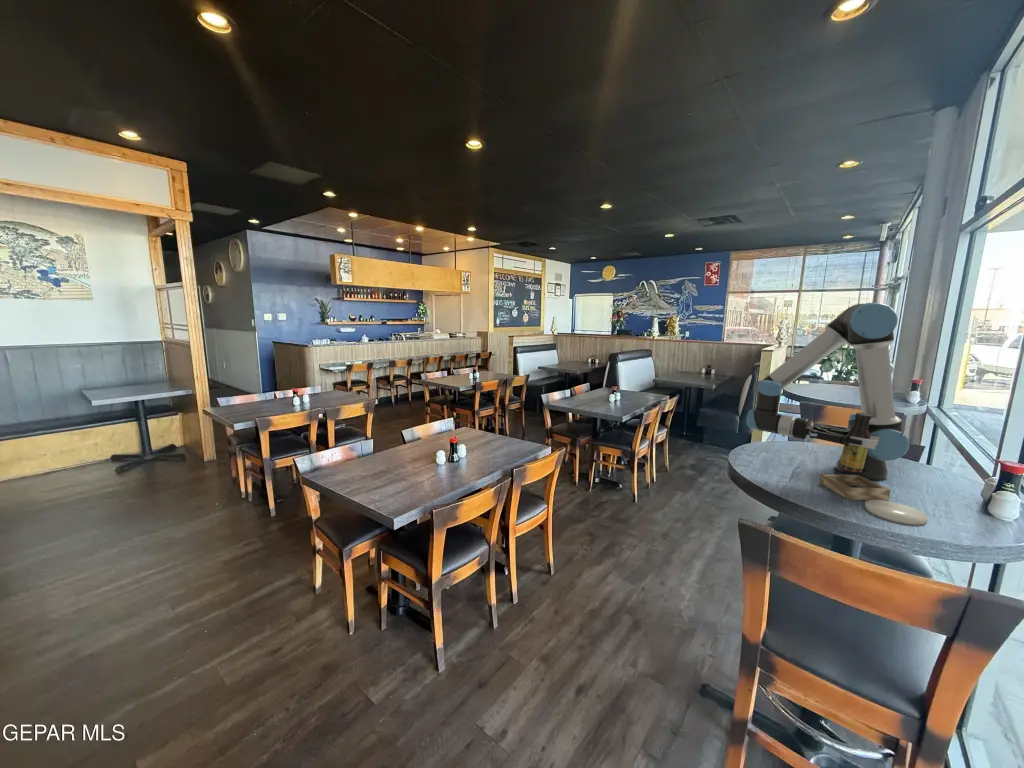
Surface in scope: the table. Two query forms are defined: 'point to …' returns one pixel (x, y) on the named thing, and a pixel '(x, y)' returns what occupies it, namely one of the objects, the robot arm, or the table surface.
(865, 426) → the sauce bottle
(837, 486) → the tray
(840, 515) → the table surface
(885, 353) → the robot arm
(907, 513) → the saucer
